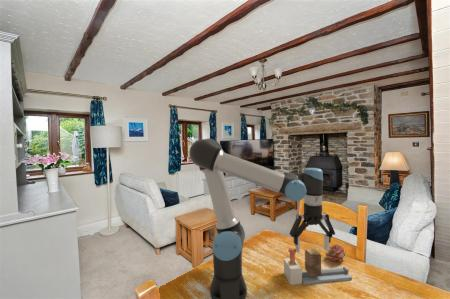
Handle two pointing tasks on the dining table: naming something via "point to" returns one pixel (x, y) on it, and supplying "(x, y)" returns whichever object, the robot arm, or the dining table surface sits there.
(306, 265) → the carriage
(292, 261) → the plunger
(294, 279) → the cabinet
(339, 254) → the flower
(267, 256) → the dining table surface
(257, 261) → the dining table surface
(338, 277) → the rail board
